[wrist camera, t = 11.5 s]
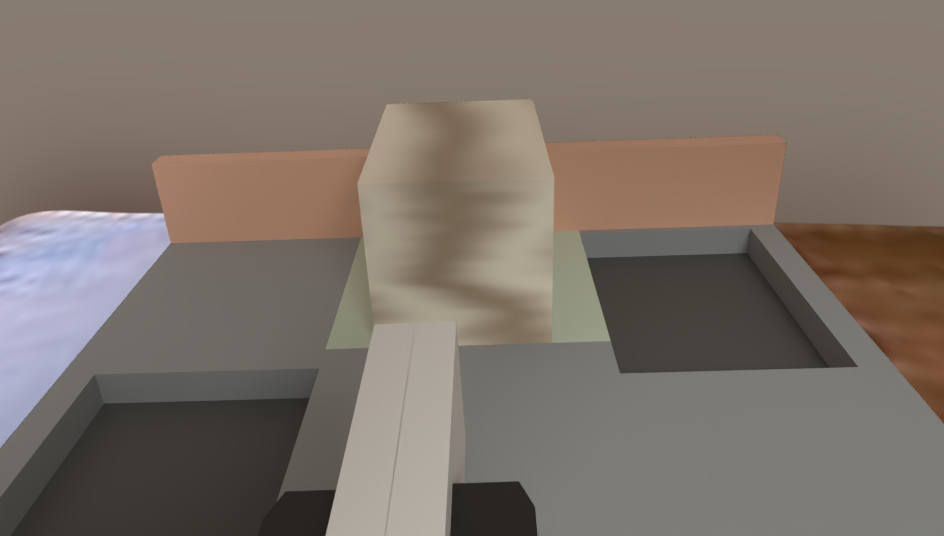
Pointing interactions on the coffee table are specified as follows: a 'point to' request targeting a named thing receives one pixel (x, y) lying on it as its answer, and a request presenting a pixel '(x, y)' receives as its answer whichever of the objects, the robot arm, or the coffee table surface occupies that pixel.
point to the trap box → (490, 364)
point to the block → (461, 220)
